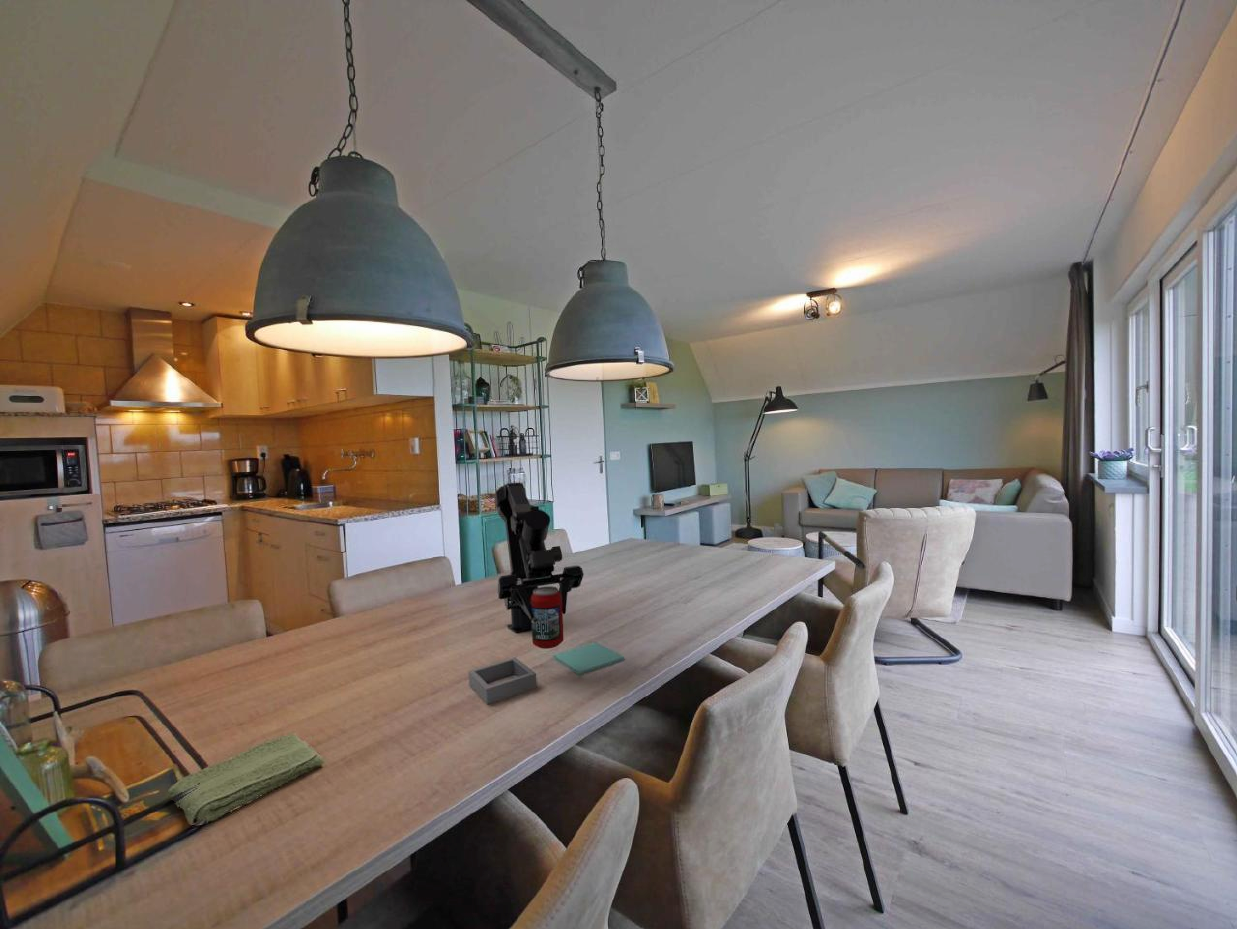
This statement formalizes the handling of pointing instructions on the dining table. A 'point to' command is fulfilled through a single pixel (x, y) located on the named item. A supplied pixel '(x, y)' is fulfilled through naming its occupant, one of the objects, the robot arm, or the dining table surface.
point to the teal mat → (588, 657)
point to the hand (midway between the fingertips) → (548, 616)
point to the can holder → (505, 688)
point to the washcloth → (244, 777)
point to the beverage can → (547, 617)
